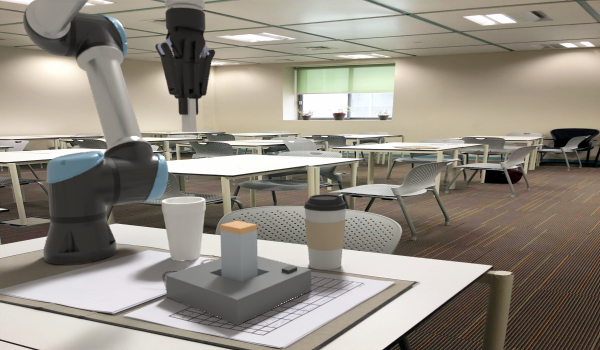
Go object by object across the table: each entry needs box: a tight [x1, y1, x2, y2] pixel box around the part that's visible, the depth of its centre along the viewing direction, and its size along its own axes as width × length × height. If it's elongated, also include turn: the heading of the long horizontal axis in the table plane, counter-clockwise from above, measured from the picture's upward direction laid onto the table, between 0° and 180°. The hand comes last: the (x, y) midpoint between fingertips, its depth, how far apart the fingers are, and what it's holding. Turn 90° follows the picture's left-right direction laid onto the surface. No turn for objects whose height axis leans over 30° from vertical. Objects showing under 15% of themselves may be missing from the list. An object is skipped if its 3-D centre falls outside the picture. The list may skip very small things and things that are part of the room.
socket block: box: [165, 255, 312, 326], centre depth 83 cm, size 18×18×5 cm
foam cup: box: [161, 196, 207, 261], centre depth 105 cm, size 10×9×13 cm
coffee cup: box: [303, 193, 348, 271], centre depth 99 cm, size 9×9×15 cm
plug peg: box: [219, 220, 258, 282], centre depth 82 cm, size 5×4×12 cm
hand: (189, 131), depth 94 cm, fingers closed
